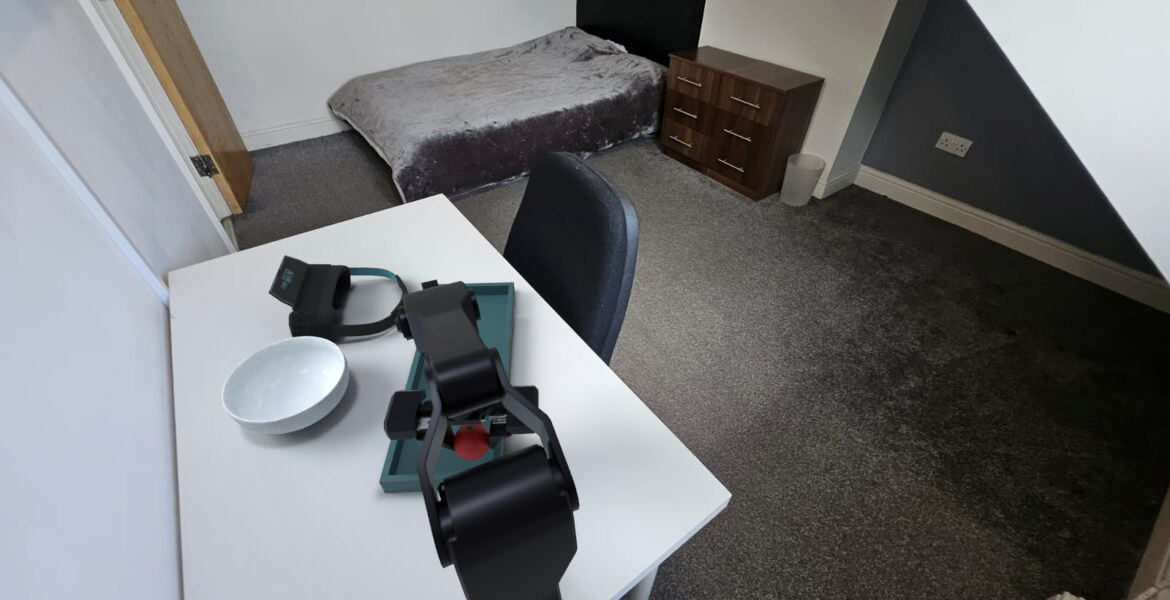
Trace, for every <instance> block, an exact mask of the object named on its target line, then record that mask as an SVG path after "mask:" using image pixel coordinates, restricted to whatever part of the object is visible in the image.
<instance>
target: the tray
mask: <svg viewBox="0 0 1170 600" xmlns="http://www.w3.org/2000/svg"><path fill="white" fill-rule="evenodd" d="M445 284H446V283H438V285H439V286H441V285H445ZM464 284H465V286H466V287H467V289H473V291H474V293H475V296H476V299H477V303H478V306H479V310H480V315H481V320H480V321H476V322H477V326H478V330H479V335H480V337H481V339H482V340H483V342H484V344H485V346H486V347H487V348H491V347H494V346H495V347H496V348H497V350H498V352H499V355H500V358H501V360H502V363H503V366H504V369H505V372H506V375H507V378H508V380H509V381H510V372H511V371H510V369H511V358H512V357H511V355H512V345H513V343H512V342H513V329H514V316H515V315H514V314H515V301H516V300H515V299H516V288H515V282H514V281H505V282H502V281H501V282H466V283H465V282H464ZM423 367H426V365H425V361H424V358H423V355H422V353H420V352H418V351H417V349H416V348H415V351H414V355H413V359H412V362H411V366H410V369H409V374H408V377H407V381H406V384H405V388H404V390H424V389H425V392H426V398H425V399H424V400H423V401H422V404H423V403H424V402H425V401H428V400H431V397H430V393H429V389H428V386H427V382H426V378H425V374H424V369H423ZM490 423H491V419H490V416H488V420H487V421H481V424H483V425H484V426H485V427H486V428H487V429H488V430H489V432H490ZM461 426H463V425H455V426H451V427H452V430H453V432H454V435H455V434H456V432H457V431H458V429H459V428H460V427H461ZM505 439H506V437H505V438H503V439H502V440H501V441H500V442H499V443H498V444H497V445H496V447H495V448H494V449H491V448H490V447H489V450H488V451H487V452H486V454H485V455H484V456H482V457H481V458H479V459H476V460H466V459H464V458H462V457H460V456H459V455H458V454H457V452H456V451H452V450H449V449H446V448H444V447H441V449H440V453H439V456H438V460H437V463H436V467H435V470H434V474H433V478H434V482H435V487H436V491H438V486H439V484H440V483H441V482H443V479H444V478H446V477H449V476H452V475H454V474H457V473H460V472H462V471H465V470H468V469H470V468H473V467H476V466H478V465H481V464H484V463H486V462H489V461H492V460H494V459H497V458H500V457H502V456H504V453H505ZM422 444H423V441H417V440H416V438H415V437H414V438H413V439H404V440H390V441H389V444H388V448H387V452H386V456H385V459H384V463H383V466H382V470H381V473H380V477H379V481H378V483H379V485H380V487H381V489H382V491H383V492H384V494H389V493H390V494H392V493H408V492H409V493H410V492H411V493H412V492H422V489H421V484H420V480H419V476H418V472H417V460H418V457H419V454H420V451H421V448H422Z"/></svg>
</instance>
